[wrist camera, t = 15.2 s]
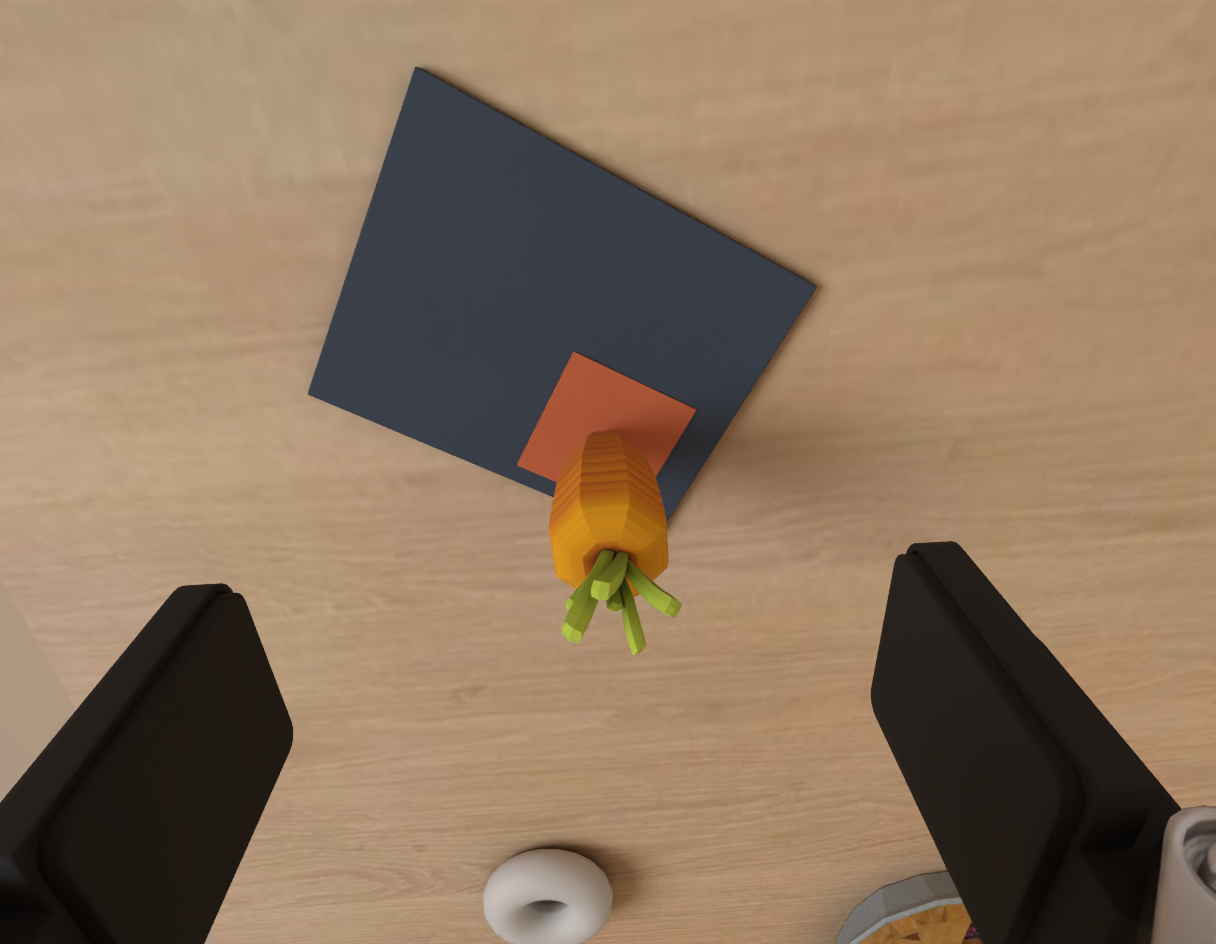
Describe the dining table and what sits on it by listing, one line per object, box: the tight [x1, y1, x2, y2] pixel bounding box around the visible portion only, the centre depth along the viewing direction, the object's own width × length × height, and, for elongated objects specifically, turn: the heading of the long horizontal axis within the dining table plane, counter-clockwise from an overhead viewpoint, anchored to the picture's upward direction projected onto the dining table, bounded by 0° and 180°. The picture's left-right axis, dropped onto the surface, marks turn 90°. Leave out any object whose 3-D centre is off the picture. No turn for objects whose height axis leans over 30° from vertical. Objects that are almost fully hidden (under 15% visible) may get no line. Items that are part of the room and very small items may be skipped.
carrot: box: [549, 430, 682, 654], centre depth 30 cm, size 5×5×15 cm
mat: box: [308, 67, 816, 523], centre depth 34 cm, size 20×16×1 cm
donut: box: [483, 849, 613, 944], centre depth 53 cm, size 10×4×10 cm
